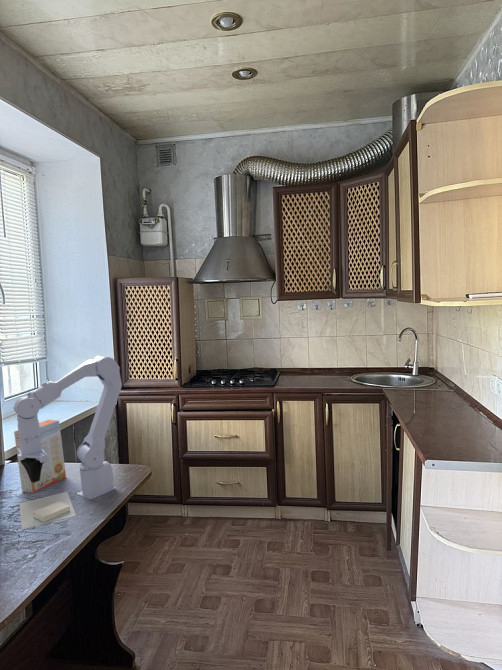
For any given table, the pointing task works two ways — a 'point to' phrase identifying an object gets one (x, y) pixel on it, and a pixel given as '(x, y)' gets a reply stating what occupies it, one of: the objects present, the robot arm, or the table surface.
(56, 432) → the cracker box
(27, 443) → the robot arm
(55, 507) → the tile
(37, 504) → the mat
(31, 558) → the table surface
